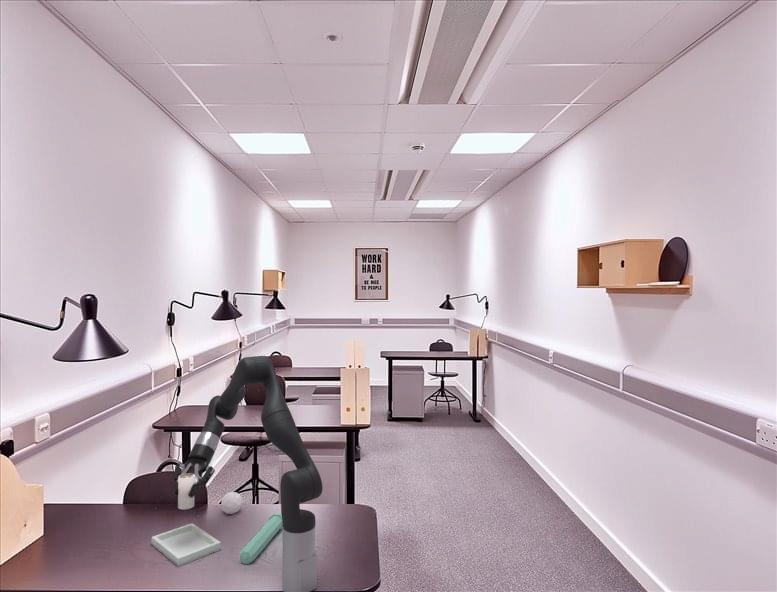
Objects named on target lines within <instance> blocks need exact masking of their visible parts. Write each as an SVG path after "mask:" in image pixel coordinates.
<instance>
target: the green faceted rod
mask: <svg viewBox="0 0 777 592" xmlns="http://www.w3.org/2000/svg"><path fill="white" fill-rule="evenodd" d="M280 528H281V529H283V521H282V515H281V513H273V514H272V515H271V516H270V517H269V518H268V521H267V522H266V523H265V524H264V525H263V527H261V529H260V530H259V531H258V532H257V533H256V534H255V536H253V538H251V540H249V542H248V543H247V544H246V545H245V546H244V547H243V548H242V550H241V551H240V552H239V560H240V561H241V563H242V564H243V565H245V564H246V565H249V564H251V563H252V562H253V561H254V560H255V559H256V558H257V557H258V556H259V554H260V553H261V552H262V551H263V550H264V549H265V547H266V546H267V545H268V543H270V541H271V540H272V539H273V537H274V536H276V534H277V533H278V532H279V531H280V530H281V529H280ZM279 529H280V530H279Z"/></svg>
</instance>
